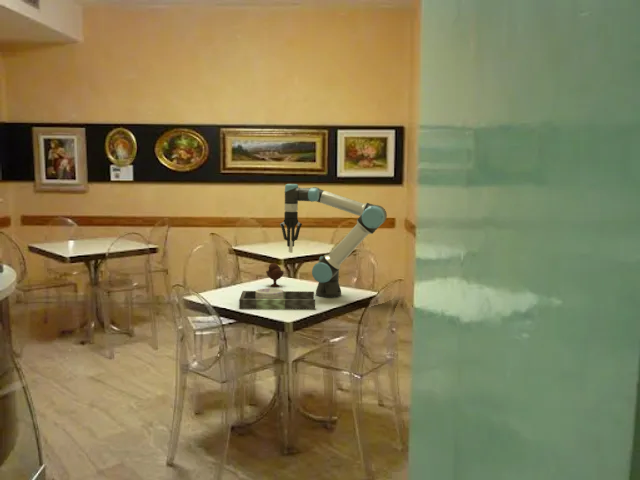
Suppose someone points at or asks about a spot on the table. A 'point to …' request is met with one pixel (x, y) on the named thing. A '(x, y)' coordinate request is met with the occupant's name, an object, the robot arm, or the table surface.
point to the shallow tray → (278, 301)
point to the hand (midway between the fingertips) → (290, 252)
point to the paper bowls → (269, 293)
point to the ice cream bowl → (274, 273)
